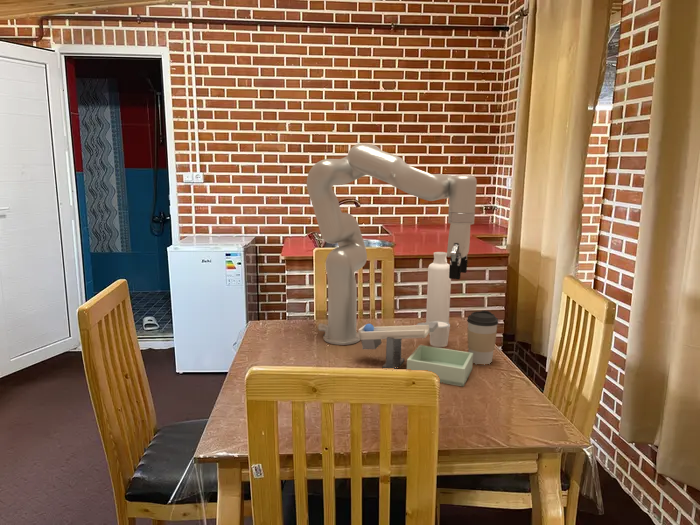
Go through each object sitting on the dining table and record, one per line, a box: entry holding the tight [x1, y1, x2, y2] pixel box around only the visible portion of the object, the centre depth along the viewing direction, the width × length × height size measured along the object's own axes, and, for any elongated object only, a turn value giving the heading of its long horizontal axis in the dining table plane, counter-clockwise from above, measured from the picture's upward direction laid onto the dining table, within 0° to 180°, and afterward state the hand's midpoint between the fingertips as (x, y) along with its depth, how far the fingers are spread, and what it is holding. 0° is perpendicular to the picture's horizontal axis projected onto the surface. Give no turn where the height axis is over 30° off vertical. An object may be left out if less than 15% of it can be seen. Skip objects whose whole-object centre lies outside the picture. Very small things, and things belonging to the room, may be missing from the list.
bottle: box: [425, 251, 452, 324], centre depth 183 cm, size 8×8×28 cm
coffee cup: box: [467, 310, 499, 366], centre depth 156 cm, size 9×9×15 cm
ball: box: [363, 323, 375, 332], centre depth 155 cm, size 3×3×3 cm
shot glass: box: [429, 321, 451, 348], centre depth 171 cm, size 7×7×7 cm
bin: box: [406, 344, 473, 387], centre depth 148 cm, size 16×13×5 cm
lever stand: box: [382, 337, 405, 370], centre depth 153 cm, size 4×8×10 cm, turn 157°
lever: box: [357, 322, 438, 350], centre depth 155 cm, size 21×12×6 cm, turn 67°
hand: (457, 275), depth 154 cm, fingers open, 9 cm apart
